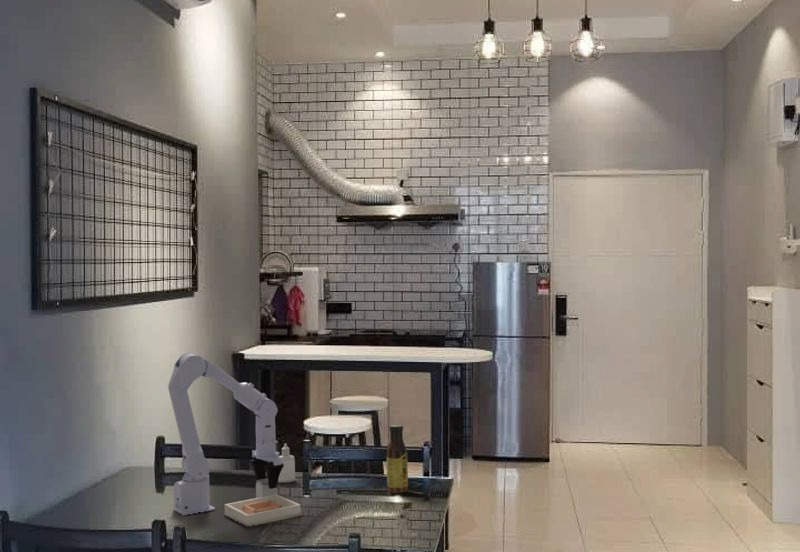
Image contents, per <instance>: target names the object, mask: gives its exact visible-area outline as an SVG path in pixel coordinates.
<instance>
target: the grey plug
mask: <svg viewBox="0 0 800 552" xmlns="http://www.w3.org/2000/svg"><path fill="white" fill-rule="evenodd" d="M278 487H279V486H278V484H277V488H273V489H270V488H269V485H268V478H266V477H265V479H261V480H256V482H255V498H260V497H265V496H270V495H275V494H277V495H279V494H278V492H279V489H278Z"/></svg>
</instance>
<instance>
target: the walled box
mask: <svg viewBox="0 0 800 552" xmlns="http://www.w3.org/2000/svg"><path fill="white" fill-rule="evenodd" d="M301 512H302V511H301V504H300V503H297V502H295V501H293V500H290V499H288V498H286V497H284V496H281V495H280V494H278V495H277V494H275V495H270V496H265V497H260V498H256V497H255V498H250V499H245V500H239V501H234V502H230V503H224V516H225V515H226V516H225V517H227V516H228V517H227V518H229V517H230V518H229V519H231V518H232V519H231V520H233V519H234V521H235V522H237V521H238V522H239V523H238V522H237V523H238V524H240V523H241V524H240V525H242V524H243V525H242V526H244V525H245V526H244V527H246V526H250V527H253V526H252V525H255V526H258V525H259V524H260V525H263V524H268V523H269V524H270V523H272V522H276V521H282V520H287V519H292V518H297V517H301Z"/></svg>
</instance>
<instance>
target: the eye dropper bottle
mask: <svg viewBox="0 0 800 552" xmlns="http://www.w3.org/2000/svg"><path fill="white" fill-rule="evenodd" d="M278 456H279V457H280V458H281V463H282V464H284V467H283V468H282V470H281V473H280V475H279V479H278V483H279V484H280V483H282V484H284V483H285V484H286V483H293V482H295V481H296V461H295V460H296V459H295V456H294V455H291V454H290V447H288V444H287V443H284V444H283V447H282V448H281V455H278Z"/></svg>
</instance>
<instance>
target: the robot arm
mask: <svg viewBox="0 0 800 552" xmlns="http://www.w3.org/2000/svg"><path fill="white" fill-rule="evenodd" d="M200 377H204V378H212V379H213V380H215V381H216V382H218V383H220V384H221V385H223V386H224V387H226V388H227V389H228V390H230V391H231V392H232V395H233V399H234V400H235V401H237V402H238V403H239V404H241V405H242V406H244V407H245V408H247V409H248V410H249V411H252V412H253V414H254V415H255V450H251V454H252V455H251V457H252V459H250V460H249V464H250V465H251V467H252V469H253V471H254V475H255V480H256V481H257V480H261V479H266V477H267V478H268V485H269V488H270V489H273V488H277V484H278V483H279V482H278V479H279V475H280V473H281V470H282V468H283V467H284V464H282V463H281V458H280V457H279V456H280V452H279V451H277V446H276V444H277V443H276V441H277V439H276V435H277V434H276V417H277V414H278V409H279V408H278V407H277V403H275V402H274V401H273V400H272V399H269V398H268V397H267V394H266V393H265V392H262V393H261V392H260V391H259V390H258V389H256V388H255V387H254V386H255V384H253V383H252V382H249V383H248V382H246V381H245V382H238V381H237V380H236V379H235V378H234V377H232V376H231V375H230V374H229V373H227V372H226V371H225V370H224V369H222V368H221V367H219V366H218V365H217V364H215V363H213V362H211V361H210V360H207V359H205V358H203V357H202V356H200V355H197V354H195V353H193V352H186V353H184V354H181V355H180V356H179V358H178V359H177V360H176V361H175V363H174V366H173V371H172V374H171V376H170V379H169V382H168V385H167V387H168V393H169V396H170V401H171V405H172V409H173V413H174V417H175V422H176V426H177V429H178V434H179V438H180V442H181V446H182V448H181V452H182V461H181V467H182V470H183V471H185V473H184V474H183V476H182V479H181V480H179V481H176V482H175V483H174V485H173V508H172V510H173V511H174V510H175V512H176V511H177V512H176V513H178V512H179V513H181V514H182V515H181V514H180V515H181V516H183V515H186V514H191V515H194V514H193V513H196V514H199V513H198V512H201V513H205V511H206V512H211V511H215V510H216V507H214V506H212V505H211V504H210V503H211V502H210V501H211V498H210V496H211V495H210V475H209V474H210V471H211V463H210V462H209V461H208V460H207V459H206V457H205V455H204V454H205V453H204V451H203V449H202V445H201V442H200V439H199V434H198V431H197V426H196V422H195V418H194V414H193V413H194V412H193V410H192V405H191V401H190V397H189V392H188V390H189V388H190V387H191V386H192V384H193V383H194V382H195V381H196V380H198V379H199V378H200ZM179 513H178V514H179ZM186 516H187V515H186Z"/></svg>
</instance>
